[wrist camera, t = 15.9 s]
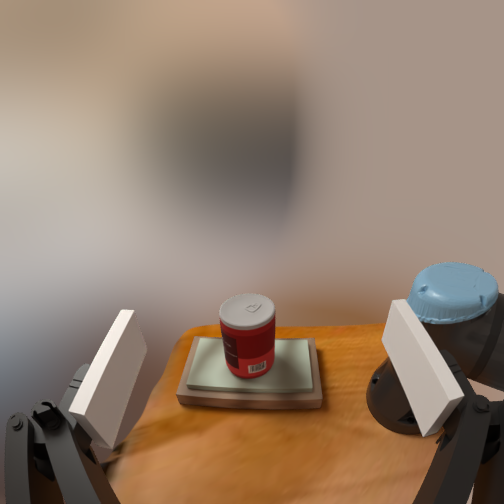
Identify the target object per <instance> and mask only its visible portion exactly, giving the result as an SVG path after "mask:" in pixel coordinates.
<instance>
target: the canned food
mask: <svg viewBox="0 0 504 504" xmlns="http://www.w3.org/2000/svg"><path fill="white" fill-rule="evenodd" d="M219 316H220V326H221V333H222V340H223V347H224V354H225V360H226V365H227V367H228V368H229V370H230V371H231V373H233V374H234V375H235V376H237V377H240V378H245V379H252V378H257V377H260V376H262V375H264V374H266V373H267V372H268V371H269V370H270V369H271V367H272V365H273V363H274V359H275V306H274V303H273V302H272V301H271V300H270V299H268V298H267V297H265V296H262V295H259V294H242V295H237V296H234V297H232V298H230V299H228V300H227V301H225V302H224V303H223V304H222V306H221V307H220V315H219Z"/></svg>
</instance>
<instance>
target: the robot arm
mask: <svg viewBox="0 0 504 504" xmlns="http://www.w3.org/2000/svg"><path fill="white" fill-rule="evenodd" d="M382 342H383V344H384V347H385V349H386V351H387V353H388V355H389V356H388V357H387V359H386V360H385V361H384V362H383V363H382V364H381V365H380V366H379V367H378V368H377V369H376V371H375V372H374V374H373V375H372V377H371V380H370V382H369V385H368V388H367V393H366V399H367V404H368V407H369V410H370V412H371V413H372V415H373V416H374V418H375V419H376V420H377V421H378V422H379V423H380V424H382V425H383V426H384V427H386V428H388V429H390V430H392V431H395V432H398V433H402V434H419V433H422V436H423V437H425V436H428V435H431V434H434V433H437V432H438V431H439V429H440V428H441V427H442V426H443V427H444V429H445V431H444V433H443V434H442V435H441V436H440V437H439V439H438V440H437V441H436V444H438V442H439V441H440V443H439V446H438V448H437V451H436V453H435V456H434V458H433V461H432V463H431V466H430V468H429V470H428V473H427V475H426V477H425V479H424V481H423V483H422V486H421V488H420V490H419V492H418V494H417V496H416V498H415V500H414V502H413V503H412V504H466V503H467V501H468V498H469V495H470V493H471V490H472V487H473V484H474V488H473V496H472V503H471V504H504V400H503V401H493V402H490V401H489V400H488V399H487V398H486V397H484V396H482V395H476V393H475V392H474V390H473V388H472V386H471V385H470V383H469V381H468V380H467V378H469V379H471V380H473V381H476V382H479V383H482V384H484V385H487V386H489V387H492V388H495V389H497V390H500V391H503V392H504V294H501V293H499V292H498V284H497V282H496V280H495V279H494V277H493V276H492V275H490V274H489V273H486V272H484V270H483V269H481V268H479V267H476V266H473V265H469V264H464V263H457V262H446V263H440V264H435V265H431V266H429V267H427V268H425V269H424V270H422V271H421V272H420V273H419V274H418V275H417V277H416V278H415V280H414V283H413V286H412V289H411V292H410V295H409V297H408V299H407V300H405V299H401V300H392V304H391V308H390V312H389V316H388V319H387V323H386V326H385V330H384V334H383V337H382ZM146 351H147V347H146V344H145V341H144V338H143V335H142V333H141V329H140V326H139V324H138V320H137V317H136V314H135V311H134V310H121V312H120V313H119V315H118V317H117V318H116V320H115V322H114V324H113V325H112V327H111V329H110V331H109V333H108V334H107V336H106V338H105V340H104V342H103V343H102V345H101V347H100V349H99V351H98V353H97V354H96V357H95V358H94V360H93V362H92V364H84V365H82V366H81V367H80V368H79V369H78V370H77V372H76V373H75V375H74V377H73V381H71V383H70V385H69V387H68V389H67V391H66V393H65V395H64V397H63V399H62V401H61V403H60V405H59V407H57V406H56V405H55V403H54V402H53V401H51V400H48V399H44V400H40V401H39V402H37V403H36V404H35V405H34V406H33V408H32V411H31V417H32V418H33V419H34V420H29V419H28V418H27V416H26V415H25V414H23V413H15V414H13V415H12V416H10V418H9V420H8V422H7V427H6V440H5V496H6V504H64V503H63V497H64V500H65V502H66V504H120V502H119V500H118V498H117V497H116V495H115V493H114V491H113V489H112V488H111V486H110V484H109V482H108V480H107V478H106V476H105V474H104V472H103V470H102V468H101V466H100V464H99V462H98V460H97V458H96V455H95V453H94V451H93V449H92V447H91V446H90V444H91V441H92V440H93V441H94V442H95V443H96V444H97V445H98V446H101V447H105V448H110V449H112V448H113V446H114V442H115V439H116V436H117V433H118V430H119V427H120V424H121V421H122V418H123V415H124V412H125V409H126V406H127V403H128V400H129V398H130V395H131V392H132V389H133V386H134V384H135V381H136V378H137V375H138V373H139V370H140V367H141V364H142V362H143V359H144V356H145V354H146ZM62 495H63V496H62Z"/></svg>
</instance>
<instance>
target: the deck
mask: <svg viewBox="0 0 504 504" xmlns="http://www.w3.org/2000/svg"><path fill="white" fill-rule="evenodd" d="M176 395H177V398H178V401H179V403H181V404H190V405H200V406H210V407H224V408H241V409H311V408H321V404H322V400H323V398H322V390H321V382H320V374H319V367H318V360H317V353H316V346H315V339H314V338H291V339H275V359H274V363H273V365H272V367H271V369H270V370H269V371H268V372H267V373H266V374H264V375H262V376H260V377H257V378H252V379H245V378H240V377H237V376H235V375H234V374H233V373H231V371H230V370H229V368H228V367H227V365H226V360H225V354H224V347H223V340H222V338H218V337H197V336H195V337H194V340H193V343H192V346H191V349H190V352H189V355H188V358H187V362H186V365H185V368H184V371H183V374H182V377H181V380H180V384H179V387H178V390H177V393H176Z"/></svg>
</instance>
